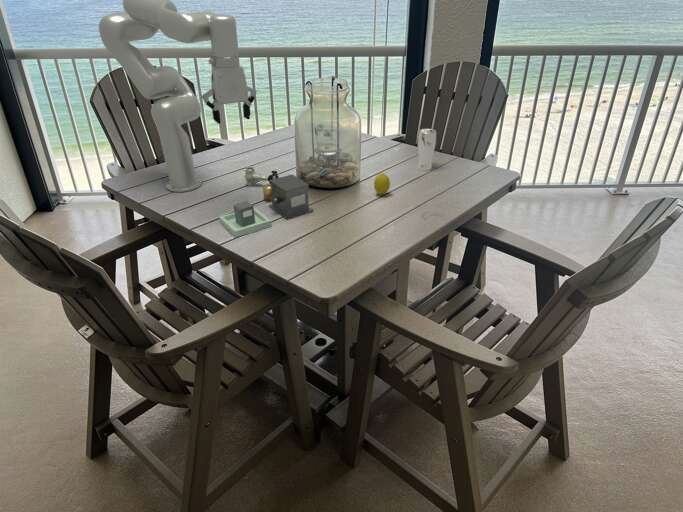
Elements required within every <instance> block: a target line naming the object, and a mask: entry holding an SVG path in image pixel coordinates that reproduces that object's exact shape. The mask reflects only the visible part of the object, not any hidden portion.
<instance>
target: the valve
mask: <svg viewBox="0 0 683 512" xmlns="http://www.w3.org/2000/svg"><path fill="white" fill-rule="evenodd" d="M244 170H245V174H244V179H245V181H246V187H251V188H252V187H256V186H257V182H259V183H260V182H261V181H263V182H266V181H268V184H271V183H270V182H269V180H272V179H276V178H280V177H279V175H278V171H277V170H271V174H269V175H268V176H267V175H262V174H261V173H256V172H255V171H256V170H255V167H254V166H246V167H244Z"/></svg>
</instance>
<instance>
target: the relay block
mask: <svg viewBox="0 0 683 512" xmlns="http://www.w3.org/2000/svg"><path fill="white" fill-rule="evenodd" d="M254 208H255V206H254V205H253V204H251V202H249V201H248V200H245V201H241V202H237V203H234V204H233V213H234V212H235V219H236V222H237V223H238V224H239V225H240V226H242V227H245V226H248V225H251V224H254V223H255V215H254Z"/></svg>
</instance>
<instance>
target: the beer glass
mask: <svg viewBox="0 0 683 512" xmlns="http://www.w3.org/2000/svg"><path fill="white" fill-rule="evenodd" d="M436 145H437V130H436V129H432V128H421V129H419V131H418V137H417V155H418V158H417V159H418V161H417V165H416V169H418V170H420V171H430V170H432V168H433V165H432V164H433V163H432V162H433V161H432V159H433V155H434V152H435V149H436V148H435V147H436Z"/></svg>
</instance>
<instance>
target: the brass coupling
mask: <svg viewBox="0 0 683 512" xmlns="http://www.w3.org/2000/svg"><path fill="white" fill-rule="evenodd" d="M262 194H263V200H264V202H266V203H272V201H271V200H272V190H271V184H269V183H266V184H264V185H262Z"/></svg>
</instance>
